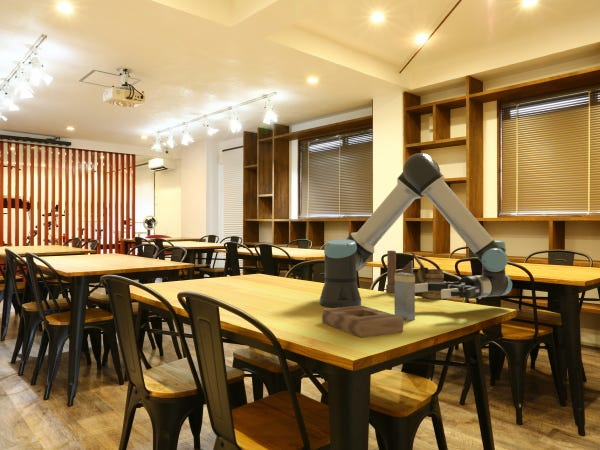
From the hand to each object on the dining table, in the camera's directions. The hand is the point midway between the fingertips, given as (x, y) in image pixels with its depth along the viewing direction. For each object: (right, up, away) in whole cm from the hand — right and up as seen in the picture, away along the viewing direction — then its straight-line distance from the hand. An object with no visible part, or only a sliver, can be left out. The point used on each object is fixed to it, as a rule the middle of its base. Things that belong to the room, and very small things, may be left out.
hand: (426, 291), depth 146 cm
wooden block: (+2, -8, +48) cm, 48 cm away
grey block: (-8, -8, -4) cm, 12 cm away
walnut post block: (-23, -8, -16) cm, 29 cm away
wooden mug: (+11, -8, +37) cm, 40 cm away
